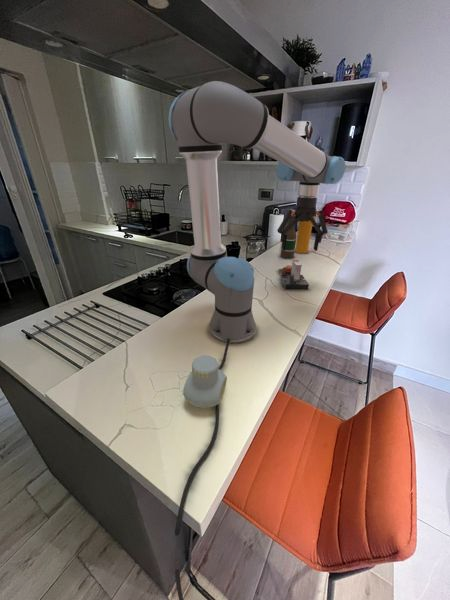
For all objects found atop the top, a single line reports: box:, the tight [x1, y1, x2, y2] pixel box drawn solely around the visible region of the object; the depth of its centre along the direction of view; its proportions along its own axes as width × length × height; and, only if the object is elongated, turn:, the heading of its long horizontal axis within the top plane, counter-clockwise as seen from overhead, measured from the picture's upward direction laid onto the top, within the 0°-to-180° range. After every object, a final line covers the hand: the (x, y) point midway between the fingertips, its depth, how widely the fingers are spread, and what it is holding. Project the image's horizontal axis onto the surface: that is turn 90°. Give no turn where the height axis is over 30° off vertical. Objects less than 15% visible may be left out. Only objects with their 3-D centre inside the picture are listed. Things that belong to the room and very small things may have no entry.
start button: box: [285, 264, 292, 271], centre depth 125 cm, size 4×4×2 cm
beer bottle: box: [280, 214, 298, 260], centre depth 145 cm, size 8×8×24 cm
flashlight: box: [294, 208, 318, 254], centre depth 154 cm, size 10×26×10 cm
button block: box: [278, 266, 291, 276], centre depth 126 cm, size 10×8×3 cm
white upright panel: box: [290, 259, 303, 282], centre depth 114 cm, size 6×2×8 cm, turn 0°
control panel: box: [280, 274, 310, 291], centre depth 117 cm, size 11×10×3 cm
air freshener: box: [182, 354, 228, 409], centre depth 59 cm, size 11×8×10 cm
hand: (299, 249), depth 110 cm, fingers open, 13 cm apart
